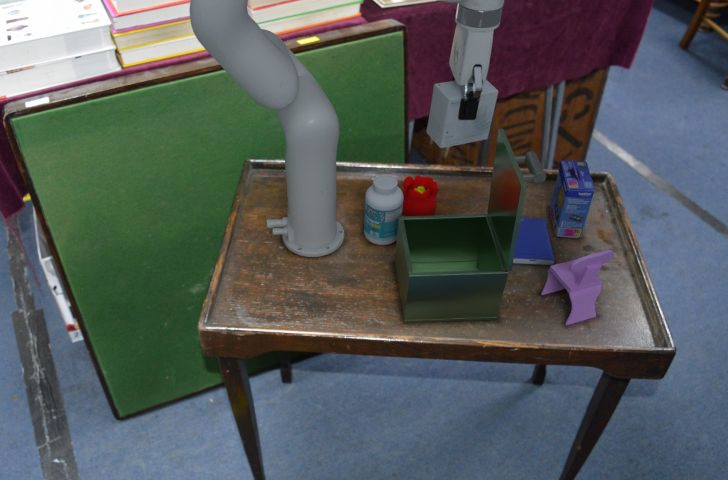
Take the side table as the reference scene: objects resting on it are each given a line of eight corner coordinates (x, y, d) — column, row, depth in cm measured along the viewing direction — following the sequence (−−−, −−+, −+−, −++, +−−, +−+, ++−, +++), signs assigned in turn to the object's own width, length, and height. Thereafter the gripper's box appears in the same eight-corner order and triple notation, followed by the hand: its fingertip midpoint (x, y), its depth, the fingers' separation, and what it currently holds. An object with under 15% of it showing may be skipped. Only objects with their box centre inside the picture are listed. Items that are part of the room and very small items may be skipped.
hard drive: (505, 216, 136) (512, 257, 128) (545, 218, 136) (555, 259, 127) (503, 222, 137) (510, 263, 129) (544, 224, 137) (553, 265, 128)
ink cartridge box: (546, 207, 141) (562, 149, 131) (573, 208, 140) (591, 150, 130) (553, 237, 134) (570, 178, 124) (581, 239, 133) (601, 180, 123)
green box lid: (521, 185, 97) (557, 183, 97) (498, 128, 108) (530, 126, 108) (506, 270, 110) (538, 268, 109) (487, 211, 121) (516, 209, 120)
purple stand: (573, 282, 125) (594, 221, 114) (601, 315, 119) (626, 253, 108) (534, 293, 123) (553, 231, 112) (561, 327, 117) (583, 265, 106)
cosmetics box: (441, 150, 125) (448, 99, 117) (425, 132, 129) (432, 82, 122) (489, 140, 127) (500, 89, 120) (472, 123, 132) (481, 74, 124)
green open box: (404, 323, 118) (409, 276, 110) (394, 263, 129) (398, 216, 121) (496, 320, 118) (508, 272, 110) (479, 260, 129) (489, 213, 121)
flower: (391, 218, 139) (393, 187, 133) (409, 199, 143) (412, 168, 138) (424, 231, 136) (428, 200, 130) (442, 212, 140) (446, 181, 134)
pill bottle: (357, 229, 136) (358, 176, 127) (388, 219, 139) (391, 165, 129) (375, 251, 131) (378, 197, 122) (407, 240, 134) (412, 185, 124)
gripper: (447, -7, 118) (435, 85, 130) (466, 35, 105) (450, 132, 117) (489, -7, 118) (473, 85, 130) (513, 35, 105) (492, 132, 118)
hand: (462, 107), depth 124 cm, fingers closed on cosmetics box, 7 cm apart
